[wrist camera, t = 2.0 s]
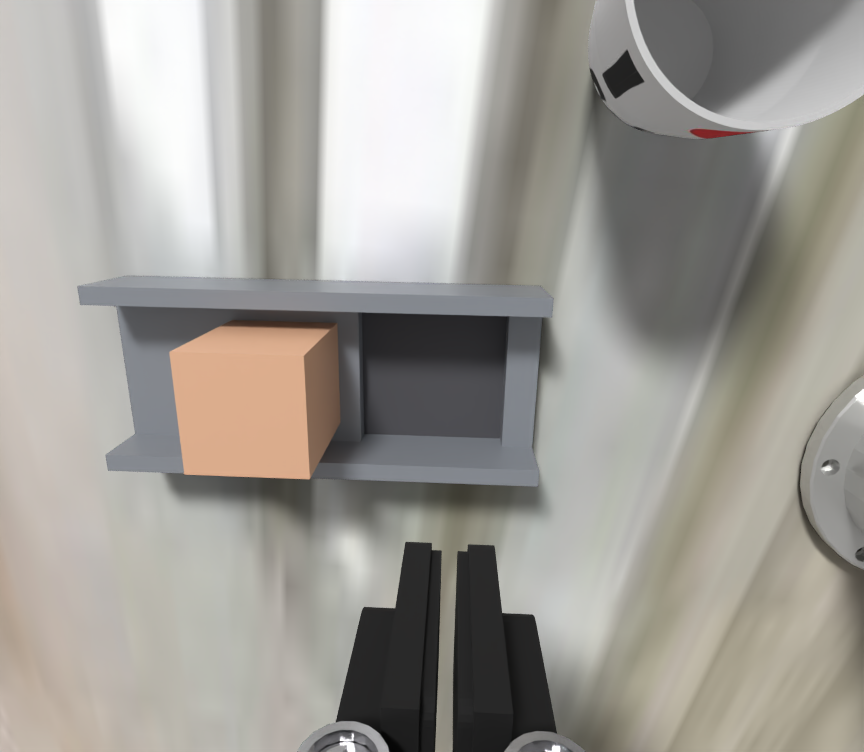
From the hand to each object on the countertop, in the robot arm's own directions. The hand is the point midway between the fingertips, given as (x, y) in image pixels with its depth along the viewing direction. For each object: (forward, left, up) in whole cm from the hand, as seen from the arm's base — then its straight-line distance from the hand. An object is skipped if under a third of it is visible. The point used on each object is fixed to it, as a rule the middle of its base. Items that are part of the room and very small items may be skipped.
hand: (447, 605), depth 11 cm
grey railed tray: (+6, 0, -17) cm, 18 cm away
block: (+8, 0, -16) cm, 18 cm away
